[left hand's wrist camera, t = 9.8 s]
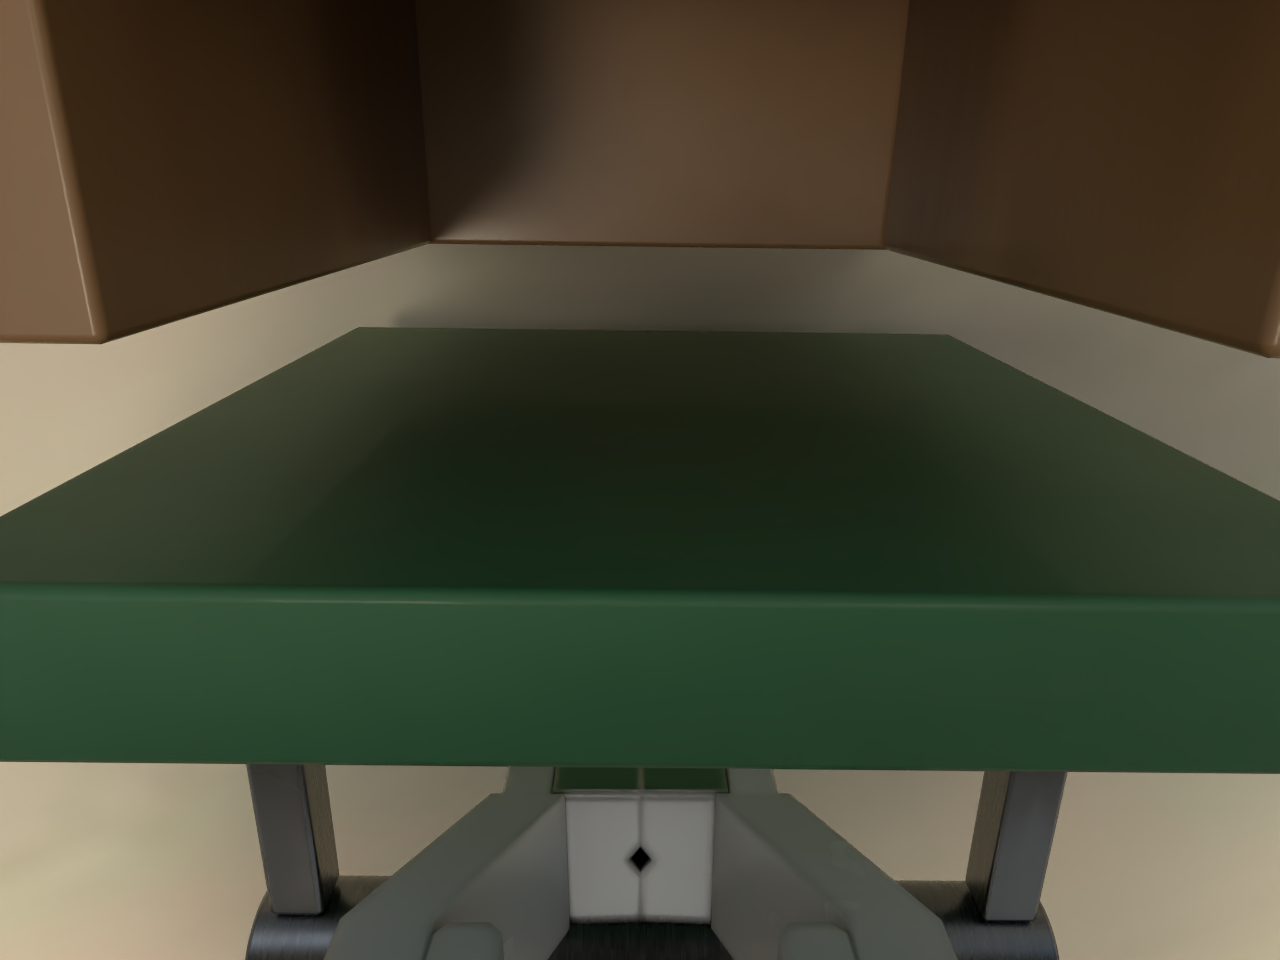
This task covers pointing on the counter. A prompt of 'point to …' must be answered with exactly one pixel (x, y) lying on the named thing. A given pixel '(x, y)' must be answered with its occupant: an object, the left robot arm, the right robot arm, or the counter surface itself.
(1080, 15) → the drawer
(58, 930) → the counter surface
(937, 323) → the counter surface
